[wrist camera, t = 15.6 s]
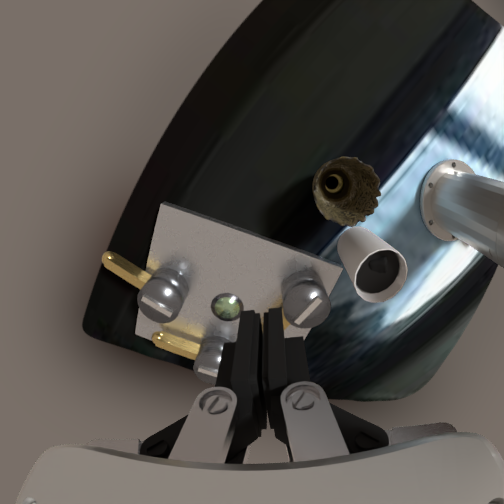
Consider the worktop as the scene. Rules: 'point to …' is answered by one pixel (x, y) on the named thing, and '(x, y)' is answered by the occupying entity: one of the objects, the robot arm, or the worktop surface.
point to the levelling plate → (224, 273)
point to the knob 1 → (152, 288)
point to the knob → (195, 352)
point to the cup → (346, 191)
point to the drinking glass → (371, 264)
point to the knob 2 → (304, 300)
